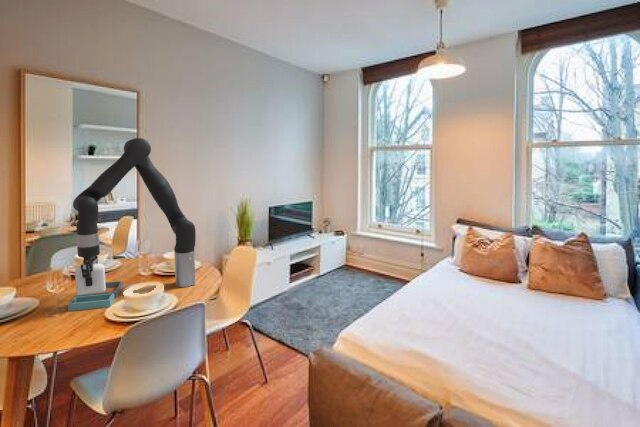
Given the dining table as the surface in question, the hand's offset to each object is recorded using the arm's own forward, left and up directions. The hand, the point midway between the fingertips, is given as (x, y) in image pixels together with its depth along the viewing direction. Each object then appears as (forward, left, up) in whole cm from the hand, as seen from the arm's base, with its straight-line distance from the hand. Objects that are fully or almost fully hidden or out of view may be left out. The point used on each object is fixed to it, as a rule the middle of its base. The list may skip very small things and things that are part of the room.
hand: (91, 283), depth 138 cm
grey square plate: (0, -14, -10) cm, 17 cm away
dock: (0, 0, -10) cm, 10 cm away
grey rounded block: (0, 0, -4) cm, 4 cm away
